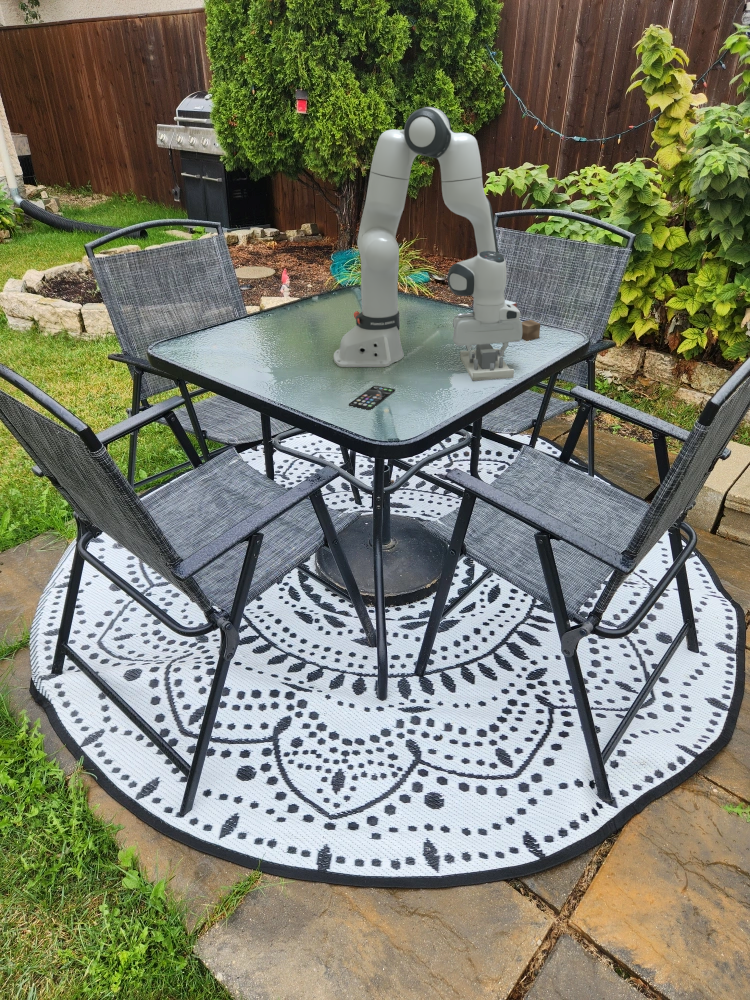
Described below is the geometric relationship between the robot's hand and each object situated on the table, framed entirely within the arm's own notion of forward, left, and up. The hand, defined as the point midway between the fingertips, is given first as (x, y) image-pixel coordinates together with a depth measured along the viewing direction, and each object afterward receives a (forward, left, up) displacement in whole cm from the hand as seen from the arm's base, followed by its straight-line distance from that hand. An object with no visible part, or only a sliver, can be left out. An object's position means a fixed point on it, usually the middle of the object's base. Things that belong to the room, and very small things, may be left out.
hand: (486, 357), depth 200 cm
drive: (0, +1, -2) cm, 2 cm away
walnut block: (+20, +23, -4) cm, 31 cm away
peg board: (0, 0, -3) cm, 3 cm away
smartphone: (-36, -15, -4) cm, 39 cm away
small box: (+12, +28, -4) cm, 31 cm away
